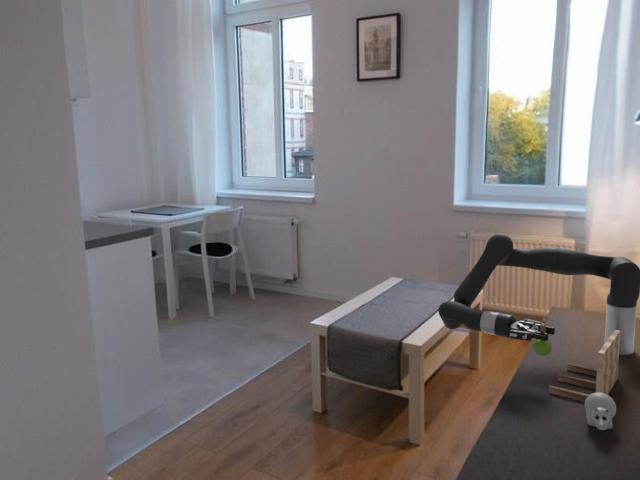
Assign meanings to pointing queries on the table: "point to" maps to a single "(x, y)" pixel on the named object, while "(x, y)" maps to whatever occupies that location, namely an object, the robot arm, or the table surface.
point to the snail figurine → (542, 342)
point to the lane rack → (594, 372)
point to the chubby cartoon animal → (600, 410)
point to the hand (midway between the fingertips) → (551, 334)
